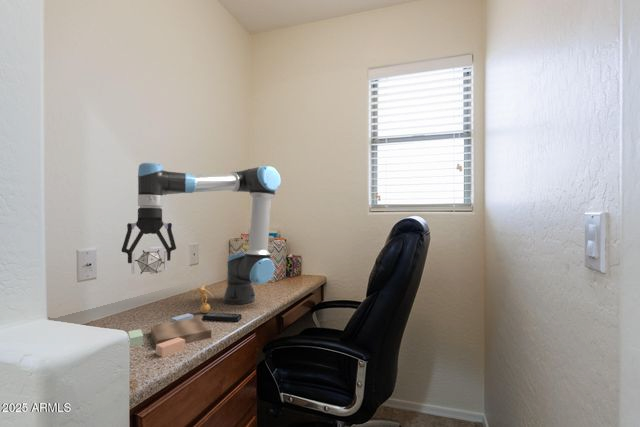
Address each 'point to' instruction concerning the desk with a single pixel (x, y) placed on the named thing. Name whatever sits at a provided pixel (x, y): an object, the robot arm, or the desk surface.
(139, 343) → the sage brick
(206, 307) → the figurine
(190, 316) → the slate brick
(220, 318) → the multiport hub
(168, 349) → the terracotta brick
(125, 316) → the desk surface
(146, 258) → the game die
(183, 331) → the walnut board
